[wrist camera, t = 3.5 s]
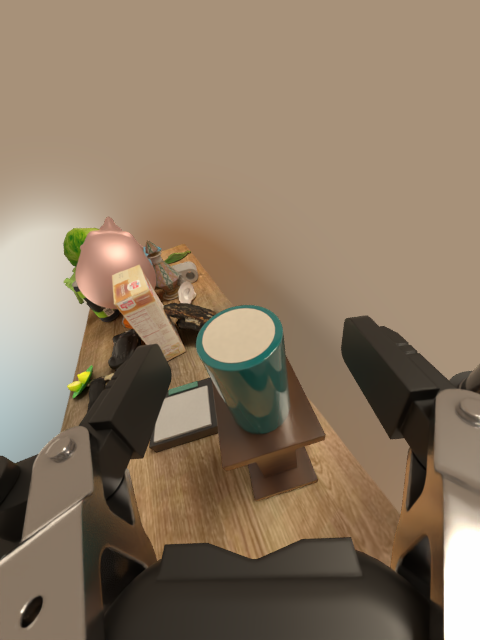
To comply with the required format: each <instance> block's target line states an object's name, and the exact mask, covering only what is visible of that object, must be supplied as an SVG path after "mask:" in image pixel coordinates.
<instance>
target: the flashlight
mask: <svg viewBox="0 0 480 640" xmlns="http://www.w3.org/2000/svg"><path fill="white" fill-rule="evenodd" d="M104 387H105V380H104V379H101V378H97V379H94V380H92V381H91V382H90V387H89V388H90V391H89V399H90V400H89V404H88V410H87V413H88V411H89V410H90V408H91V407H92V405H93V404H94V402H95V401H96V399H97V398H98V397H99V395H100V394H101V392H102V391H103V389H104Z"/></svg>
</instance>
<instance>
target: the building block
mask: <svg viewBox="0 0 480 640" xmlns="http://www.w3.org/2000/svg"><path fill="white" fill-rule="evenodd" d="M122 324H123V326H124V327H126V328H130V329H133V327H132V326H131V325H130V324H129V322H128V321H127V320H126V318H125V317H124V318H123V321H122Z"/></svg>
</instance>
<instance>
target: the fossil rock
mask: <svg viewBox="0 0 480 640" xmlns="http://www.w3.org/2000/svg"><path fill="white" fill-rule="evenodd" d="M163 307H164V308H163V310H164V312H165V313H166V314H167V315H168V316H171V317H174V318H177V319H178V321H177V322H176V324H177V326H178V327H179V329H181V330H185V329H190V330H196V331H200V329H201V328H202V326H203V325H204V324H205V323H206V322H207V321H208V320H209V319H210V318H211V317H213V316H214V315H216V313H215V312H214V311H212V310H209V309H206V308H202V307H200V306H195V305H192V304H188V303H179V304H177V303H170V304H168V305H164V306H163Z"/></svg>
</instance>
